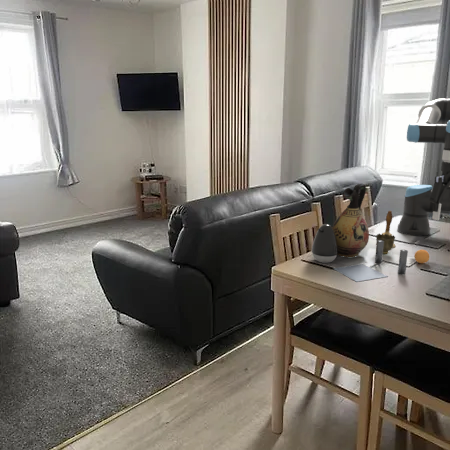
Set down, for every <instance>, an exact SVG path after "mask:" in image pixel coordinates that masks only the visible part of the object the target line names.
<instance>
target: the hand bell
mask: <svg viewBox="0 0 450 450" xmlns="http://www.w3.org/2000/svg"><path fill="white" fill-rule="evenodd" d="M392 221H393V213H392V210H388V211H387V214H386V217H385V224H386V225H385V229H384V230H385V231H384V232H382V233H383V235H385V234H389V236H390V235H392V236H393V234H392V233H391V232H390V231H391V230H390V229H391V223H392ZM375 246H377V243H376V244H375ZM394 248H396V245H395V243H394V244H393V247H392V249H394Z"/></svg>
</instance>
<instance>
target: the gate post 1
mask: <svg viewBox="0 0 450 450" xmlns="http://www.w3.org/2000/svg"><path fill="white" fill-rule="evenodd" d="M375 246H376V248H375V255H374V256H375V258H374V263H375V264H377V265H381V264H383V246H384V241H382V240H377V245H375Z"/></svg>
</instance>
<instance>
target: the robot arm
mask: <svg viewBox="0 0 450 450" xmlns="http://www.w3.org/2000/svg"><path fill="white" fill-rule="evenodd" d="M417 115H418V119H417V121H416V122H415V123H410V124H408V125H407V129H406V130H407V131H406V141H407V142H410V143H414V144H416V143H418V144H419V143H420V144H421V143H423V144H424V143H425V144H427V143H428V144H443V145H444V146H443V150H442V157H441V160H442V161H441V165H440V171H441V175H440V176H435V177H434V184H433V186H432V185H430V184H415V185H410V186H408V187H406V190H405V195H404V203H403V210H402V216H401V218H400V221H399V222H398V224H397V228H396V229H397V232H399V233H401V234H403V235H404V234H405V235H408V236H409V235H410V236H416V235H417V236H418V237H419V235H424V236H429V235H430V234H431V227H430V221H429V216H430V214H432V220H434V221H440V217H441V215H448V216H450V98H444V97H443V98H437V99H433V100H431V101H428V102H427V103H425V104H424V105H422V106H421V108H420V109H419V111H418V114H417ZM428 234H429V235H428ZM417 236H416V237H417Z"/></svg>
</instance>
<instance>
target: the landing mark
mask: <svg viewBox="0 0 450 450" xmlns="http://www.w3.org/2000/svg"><path fill="white" fill-rule="evenodd" d="M332 269H333V270H334V271H336V272H338V273H339V274H342V275H343V276H344V277H347V278H349V279H350V280H352V281H354V282H356V283H359V282H365V281H371V280H376V279H383V278H388V277H389V276H388V275H386V274H384V273H382V272H380V271H379V270H376V269H374V268H372V267H370V266H368V265H366V264H364V263H361V264H360V263H359V264H353V265H347V266H339V267H333V268H332Z"/></svg>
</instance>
